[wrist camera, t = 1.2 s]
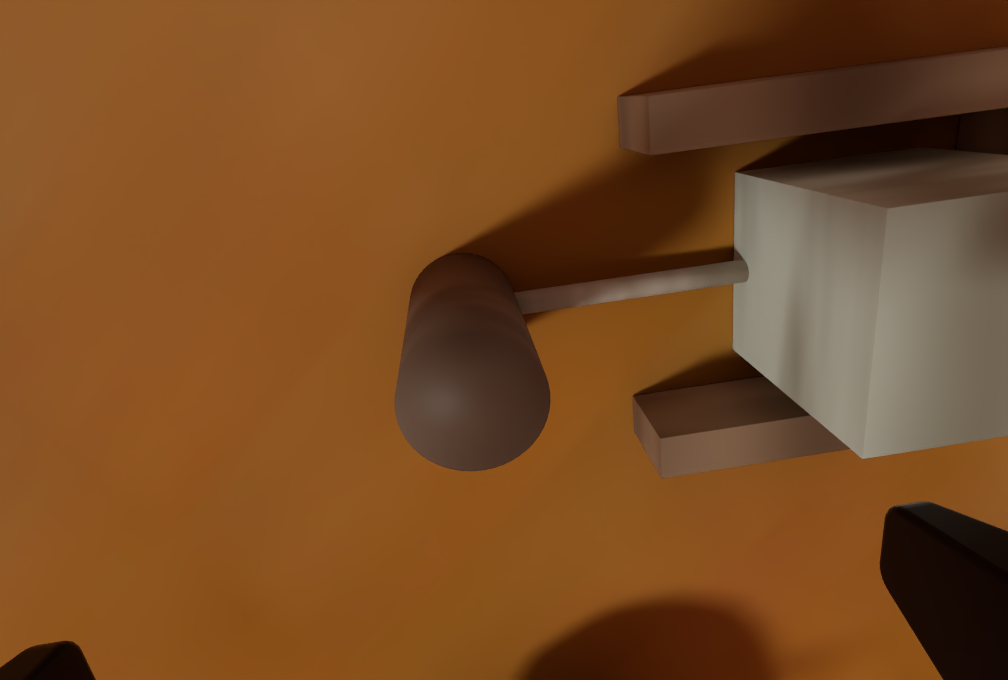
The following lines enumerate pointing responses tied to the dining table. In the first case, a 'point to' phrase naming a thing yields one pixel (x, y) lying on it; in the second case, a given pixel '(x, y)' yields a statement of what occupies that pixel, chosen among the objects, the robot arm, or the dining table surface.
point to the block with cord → (766, 311)
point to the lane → (777, 114)
